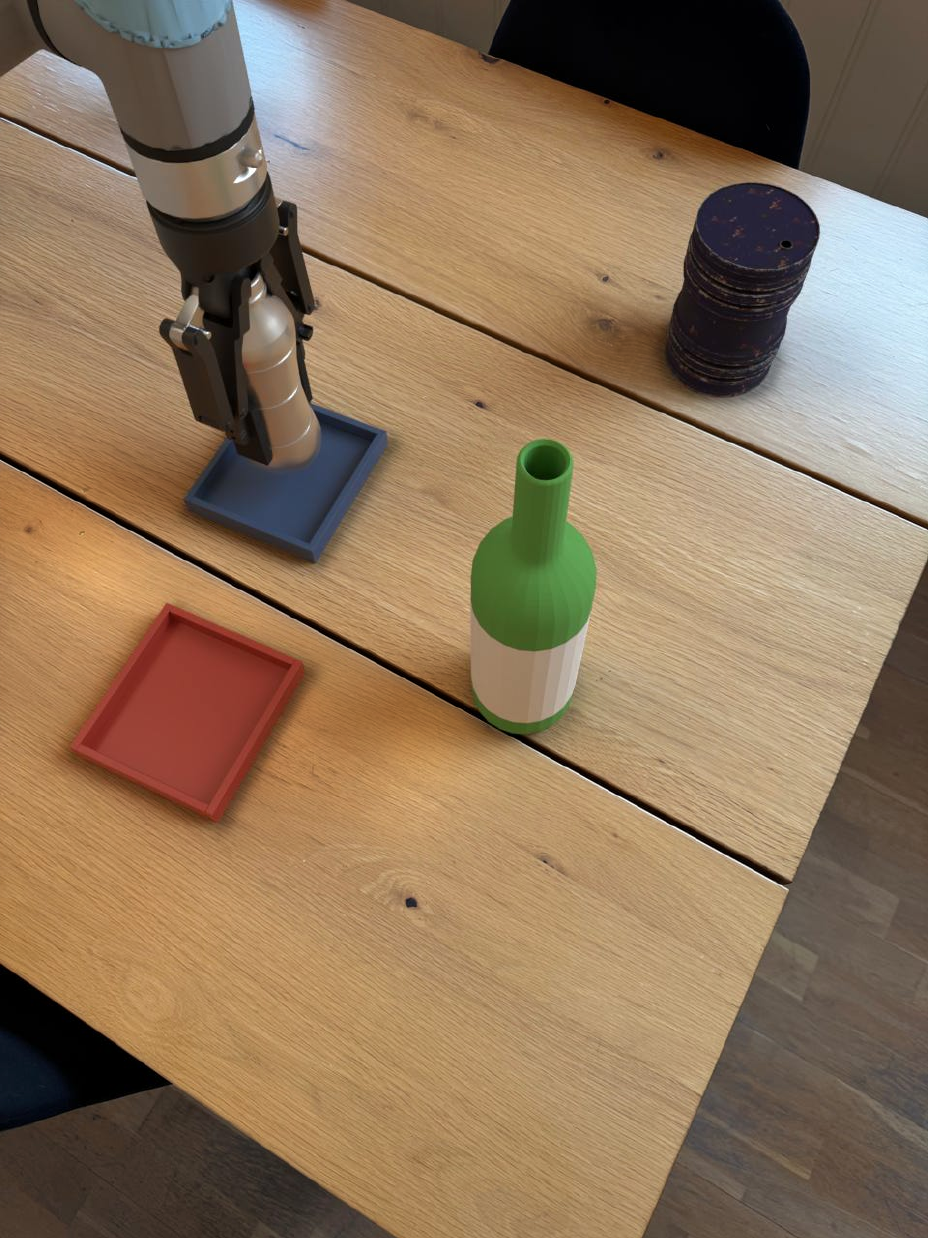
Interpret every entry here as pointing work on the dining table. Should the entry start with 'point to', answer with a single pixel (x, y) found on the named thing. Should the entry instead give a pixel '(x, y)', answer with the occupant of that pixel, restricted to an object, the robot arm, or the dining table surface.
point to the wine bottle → (531, 599)
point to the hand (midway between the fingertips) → (275, 425)
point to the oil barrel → (739, 286)
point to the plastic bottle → (278, 385)
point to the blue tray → (291, 488)
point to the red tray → (190, 711)
